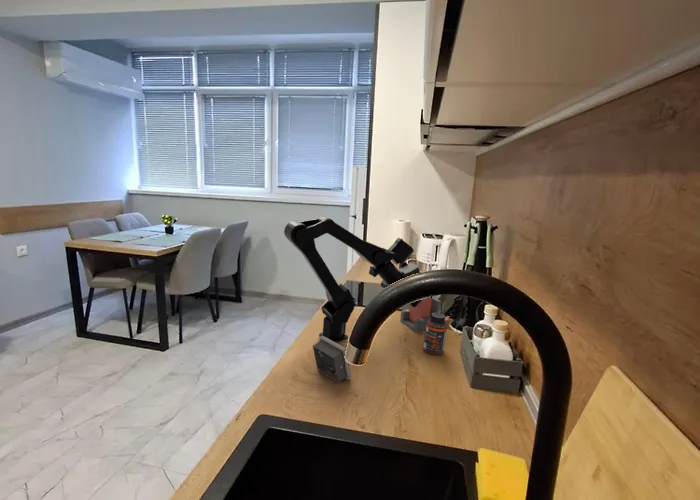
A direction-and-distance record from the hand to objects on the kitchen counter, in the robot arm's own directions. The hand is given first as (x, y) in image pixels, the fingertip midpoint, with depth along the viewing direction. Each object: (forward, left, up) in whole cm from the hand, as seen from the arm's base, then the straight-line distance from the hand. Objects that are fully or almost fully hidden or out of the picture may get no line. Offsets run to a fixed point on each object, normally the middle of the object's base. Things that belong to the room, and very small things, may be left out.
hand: (415, 304), depth 127 cm
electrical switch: (-43, -7, -8) cm, 44 cm away
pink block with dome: (+2, -1, -6) cm, 7 cm away
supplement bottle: (-10, -15, -8) cm, 19 cm away
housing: (+2, -1, -8) cm, 8 cm away
